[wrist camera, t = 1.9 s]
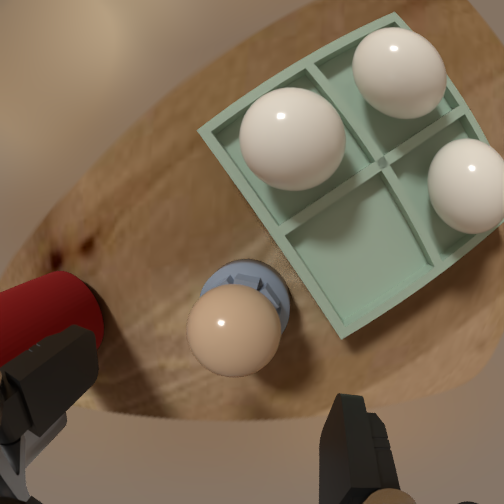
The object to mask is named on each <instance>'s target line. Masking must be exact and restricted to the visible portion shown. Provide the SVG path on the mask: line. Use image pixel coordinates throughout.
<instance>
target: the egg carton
mask: <svg viewBox="0 0 504 504" xmlns="http://www.w3.org/2000/svg"><path fill="white" fill-rule="evenodd" d="M390 27H397V28H403V29H407V30H410V31H412V30H411V29H410V28H409V27H408V26H407V25H406V23H405V22H404V21H403V20H402V19H401V18H400V17H399V16H398V15H397V14H396V13H395V12H393V13H391V14H389V15H387V16H384V17H382V18H380V19H378V20H375V21H373V22H371V23H369V24H367V25H365V26H363V27H361V28H359V29H357V30H355V31H353V32H351V33H349V34H347V35H345V36H343V37H341V38H339V39H337V40H335V41H333V42H331V43H329V44H328V45H326V46H324V47H322V48H320V49H319V50H317V51H315V52H313V53H311V54H310V55H308V56H306V57H305V58H303V59H301V60H299V61H298V62H296V63H294V64H293V65H291V66H289V67H288V68H286V69H285V70H283V71H281V72H280V73H278V74H276V75H275V76H273V77H272V78H270V79H269V80H267V81H266V82H264V83H262V84H261V85H259V86H258V87H256V88H255V89H253V90H252V91H250V92H249V93H248V94H246V95H245V96H243V97H242V98H240V99H239V100H237V101H236V102H235V103H233V104H232V105H230V106H229V107H227V108H226V109H225V110H223V111H222V112H221V113H219V114H218V115H216V116H215V117H214V118H212V119H211V120H210V121H208V122H207V123H206V124H204V125H203V126H202V127H201V128H199V129H198V130H197V131H198V133H199V134H200V135H201V137H202V138H203V140H204V141H205V142H206V144H207V145H208V147H209V148H210V149H211V151H212V152H213V153H214V155H215V156H216V158H217V159H218V160H219V162H220V163H221V165H222V166H223V167H224V169H225V170H226V172H227V173H228V174H229V176H230V177H231V179H232V180H233V181H234V183H235V184H236V186H237V187H238V189H239V190H240V191H241V193H242V194H243V196H244V197H245V198H246V200H247V201H248V203H249V204H250V206H251V207H252V208H253V210H254V211H255V213H256V214H257V216H258V217H259V218H260V220H261V221H262V223H263V224H264V226H265V227H266V229H267V230H268V231H269V233H270V234H271V236H272V237H273V239H274V240H275V242H276V243H277V245H278V246H279V247H280V249H281V250H282V252H283V253H284V255H285V256H286V258H287V259H288V261H289V262H290V264H291V265H292V266H293V268H294V269H295V271H296V272H297V274H298V275H299V277H300V278H301V280H302V281H303V283H304V284H305V286H306V287H307V289H308V290H309V292H310V293H311V295H312V296H313V298H314V299H315V301H316V302H317V304H318V305H319V307H320V308H321V310H322V311H323V313H324V314H325V316H326V317H327V319H328V320H329V322H330V323H331V325H332V326H333V328H334V329H335V331H336V332H337V334H338V335H339V337H340V338H341V339H343V338H345V337H346V336H348V335H350V334H352V333H353V332H355V331H356V330H358V329H360V328H361V327H363V326H365V325H366V324H368V323H369V322H371V321H373V320H374V319H376V318H377V317H379V316H380V315H382V314H383V313H385V312H387V311H388V310H390V309H391V308H393V307H394V306H396V305H397V304H399V303H400V302H402V301H403V300H404V299H406V298H407V297H409V296H410V295H412V294H413V293H415V292H416V291H417V290H419V289H420V288H422V287H423V286H424V285H426V284H427V283H429V282H430V281H431V280H433V279H434V278H435V277H437V276H438V275H439V274H441V273H442V272H443V271H445V270H446V269H447V268H449V267H450V266H451V265H453V264H454V263H455V262H456V261H458V260H459V259H460V258H462V257H463V256H464V255H465V254H467V253H468V252H469V251H470V250H471V249H473V248H474V247H475V246H476V245H478V244H479V243H480V242H481V241H482V240H484V239H485V238H486V237H487V236H488V235H489V234H491V233H492V232H493V231H494V230H495V229H496V228H497V227H499V226H500V225H501V224H502V223H503V222H504V218H503V219H502V221H501V222H500V223H499V224H498V225H497V226H495V227H494V228H492V229H491V230H489V231H486V232H483V233H479V234H467V233H462V232H460V231H457V230H455V229H453V228H451V227H450V226H448V225H447V224H446V223H445V222H444V221H443V220H442V219H441V218H440V217H439V216H438V214H437V213H436V211H435V210H434V208H433V206H432V204H431V201H430V198H429V194H428V187H427V178H428V171H429V167H430V164H431V162H432V160H433V158H434V156H435V155H436V153H437V152H438V151H439V150H440V149H441V148H442V147H443V146H445V145H446V144H448V143H449V142H452V141H454V140H457V139H463V138H469V139H476V140H479V141H482V142H484V143H486V144H488V145H489V143H488V141H487V139H486V137H485V135H484V133H483V132H482V130H481V128H480V126H479V124H478V123H477V121H476V119H475V117H474V116H473V114H472V112H471V111H470V109H469V107H468V106H467V104H466V103H465V101H464V99H463V98H462V96H461V95H460V93H459V92H458V90H457V89H456V87H455V86H454V84H453V83H452V81H451V80H450V78H449V77H448V76H447V74H446V76H447V84H446V90H445V93H444V96H443V98H442V100H441V101H440V103H439V104H438V106H437V107H436V108H435V109H434V110H432V111H431V112H430V113H428V114H426V115H424V116H422V117H419V118H414V119H398V118H393V117H390V116H387V115H385V114H383V113H381V112H379V111H378V110H376V109H375V108H373V107H372V106H371V105H370V104H369V103H368V102H367V101H366V100H365V99H364V98H363V96H362V95H361V93H360V92H359V90H358V88H357V86H356V84H355V81H354V77H353V71H352V62H353V56H354V53H355V50H356V48H357V47H358V45H359V43H360V42H361V41H362V40H363V39H364V38H365V37H366V36H367V35H369V34H370V33H372V32H374V31H376V30H379V29H383V28H390ZM288 87H295V88H302V89H306V90H309V91H312V92H315V93H317V94H318V95H320V96H322V97H323V98H325V99H326V100H327V101H328V102H329V103H331V105H332V106H333V107H334V108H335V109H336V111H337V112H338V114H339V115H340V117H341V120H342V122H343V125H344V128H345V134H346V148H345V153H344V156H343V159H342V161H341V163H340V165H339V167H338V168H337V170H336V171H335V172H334V174H333V175H332V176H331V177H330V178H329V179H327V180H326V181H325V182H323V183H322V184H320V185H318V186H316V187H313V188H311V189H307V190H302V191H286V190H281V189H277V188H274V187H272V186H270V185H268V184H266V183H264V182H263V181H261V180H260V179H259V178H258V177H257V176H255V175H254V174H253V172H252V171H251V170H250V169H249V167H248V166H247V164H246V163H245V161H244V158H243V156H242V153H241V150H240V144H239V134H240V127H241V123H242V120H243V118H244V115H245V114H246V112H247V110H248V109H249V108H250V106H251V105H252V104H253V103H254V102H255V101H256V100H257V99H259V98H260V97H261V96H263V95H265V94H266V93H268V92H271V91H273V90H277V89H280V88H288ZM489 146H490V145H489Z"/></svg>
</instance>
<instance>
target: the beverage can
mask: <svg viewBox="0 0 504 504" xmlns="http://www.w3.org/2000/svg"><path fill="white" fill-rule="evenodd" d="M71 325H78V326H80V327H83V328H85V329H88V330H91V331H93V332H94V334H95V338H96V348H97V349H98V348H99V346H100V344H101V342H102V340H103V335H104V323H103V317H102V313H101V310H100V307H99V305H98V303H97V301H96V299H95V297H94V295H93V294H92V292H91V291H90V289H89V288H88V287H87V286H86V285H85V284H84V283H83V282H82V281H81V280H80V279H79V278H77V277H76V276H74V275H73V274H71V273H68V272H65V271H55V272H52V273H49V274H46V275H44V276H41V277H38V278H36V279H33V280H30V281H28V282H25V283H23V284H20V285H18V286H15V287H13V288H10V289H8V290H5V291H3V292H1V293H0V367H2V366H3V365H5V364H6V363H8V362H9V361H11V360H12V359H14V358H15V357H17V356H18V355H20V354H21V353H23V352H24V351H26V350H29V348H30V347H32V346H33V345H36V344H37V343H38V342H39V341H41V340H42V339H44V338H45V337H47V336H51V335H54V334H57V333H60V332H62V331H63V330H65V329H66V328H68V327H69V326H71Z"/></svg>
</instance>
